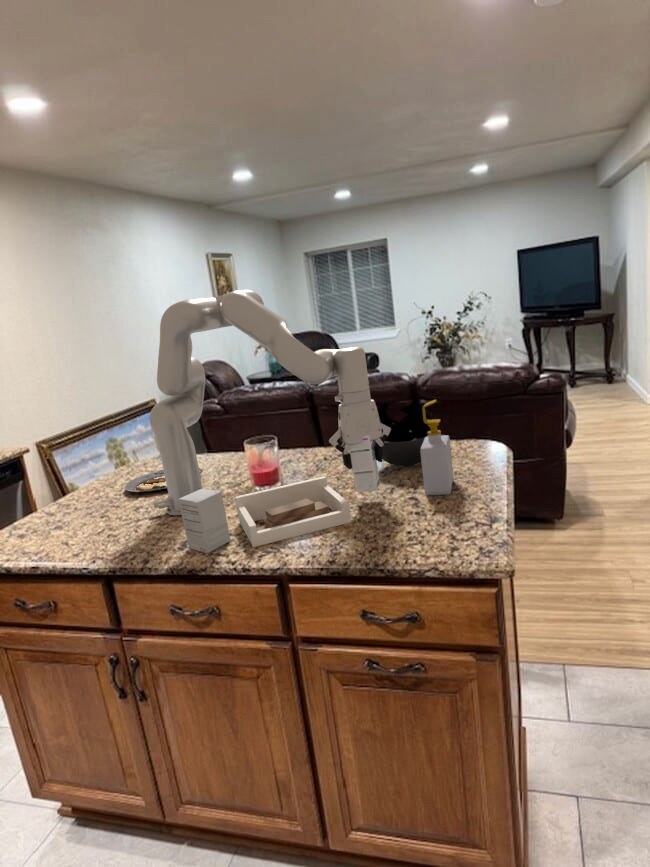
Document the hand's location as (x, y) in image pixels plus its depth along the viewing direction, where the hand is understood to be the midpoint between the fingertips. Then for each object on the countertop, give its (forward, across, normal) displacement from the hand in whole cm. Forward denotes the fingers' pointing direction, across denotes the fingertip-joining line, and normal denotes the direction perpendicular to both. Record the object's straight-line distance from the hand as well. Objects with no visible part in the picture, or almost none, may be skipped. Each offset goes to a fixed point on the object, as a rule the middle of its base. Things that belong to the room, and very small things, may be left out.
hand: (364, 464), depth 154 cm
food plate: (+11, -49, +61) cm, 79 cm away
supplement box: (+10, -42, -3) cm, 43 cm away
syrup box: (+7, 0, 0) cm, 7 cm away
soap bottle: (+10, +19, -3) cm, 22 cm away
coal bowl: (+10, +21, +21) cm, 31 cm away
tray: (+10, -21, -2) cm, 23 cm away
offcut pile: (+10, -21, -5) cm, 24 cm away
